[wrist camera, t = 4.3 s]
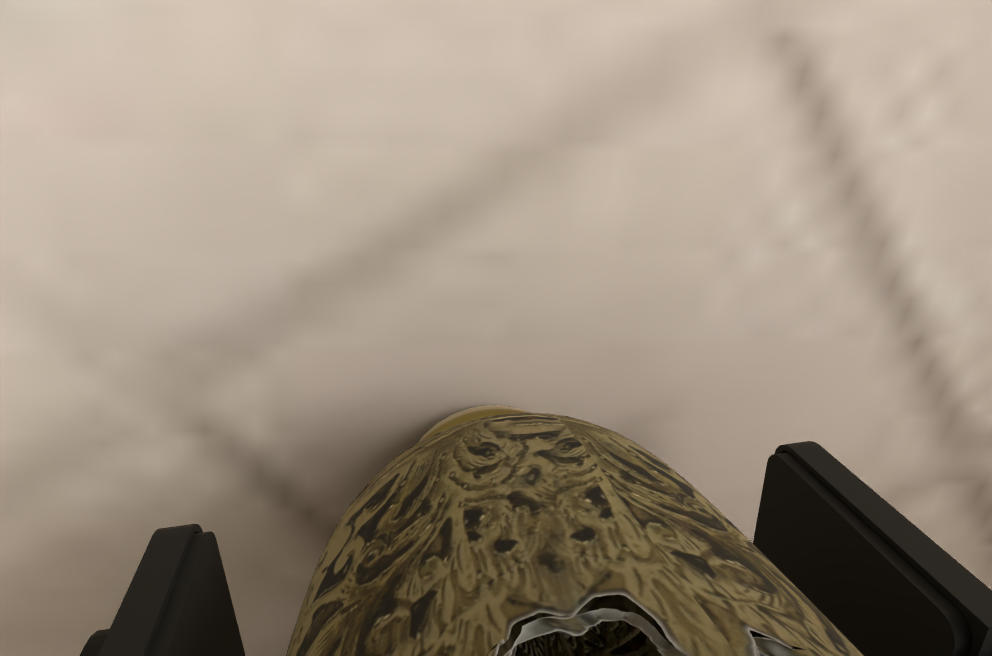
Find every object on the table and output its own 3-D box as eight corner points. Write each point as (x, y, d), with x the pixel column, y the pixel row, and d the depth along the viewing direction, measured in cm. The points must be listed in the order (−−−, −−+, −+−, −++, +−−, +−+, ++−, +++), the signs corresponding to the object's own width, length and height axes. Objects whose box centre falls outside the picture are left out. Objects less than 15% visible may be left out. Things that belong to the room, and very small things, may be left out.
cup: (668, 286, 12) (1099, 619, 5) (642, 575, 15) (887, 1052, 8) (269, 320, 11) (60, 816, 4) (324, 625, 14) (267, 1235, 7)
